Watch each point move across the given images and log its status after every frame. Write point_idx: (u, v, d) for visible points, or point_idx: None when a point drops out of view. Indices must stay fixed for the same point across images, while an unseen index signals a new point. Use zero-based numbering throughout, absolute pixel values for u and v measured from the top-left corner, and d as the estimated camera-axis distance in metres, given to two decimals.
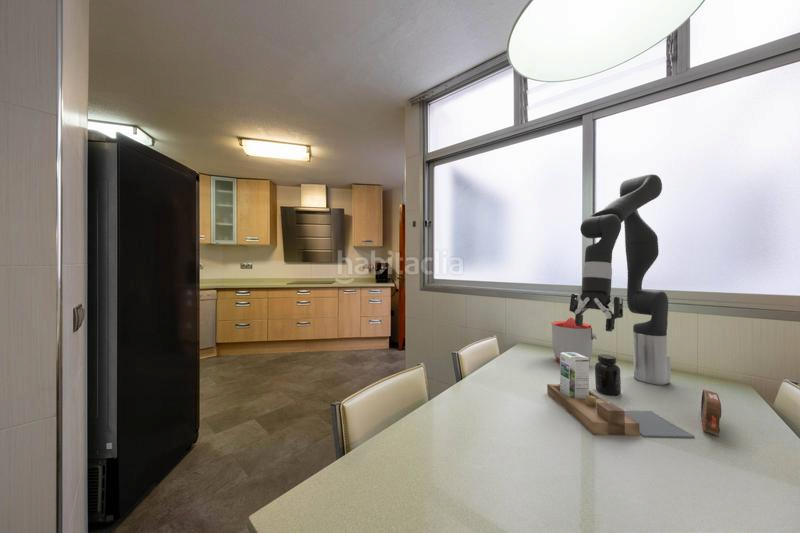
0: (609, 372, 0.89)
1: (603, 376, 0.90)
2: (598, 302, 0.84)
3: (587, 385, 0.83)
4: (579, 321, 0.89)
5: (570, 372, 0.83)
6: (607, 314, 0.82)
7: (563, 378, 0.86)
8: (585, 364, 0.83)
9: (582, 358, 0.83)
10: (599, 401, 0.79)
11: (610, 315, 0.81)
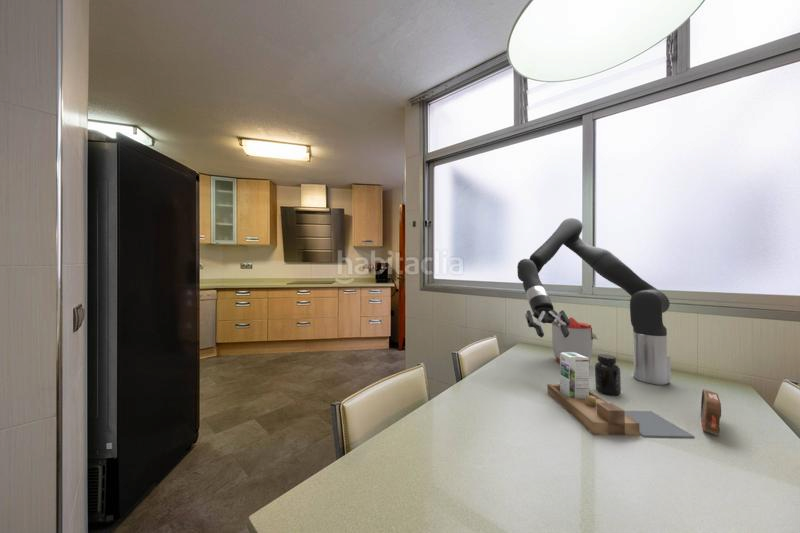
0: (609, 372, 0.89)
1: (603, 376, 0.90)
2: (553, 313, 1.01)
3: (587, 385, 0.83)
4: None
5: (570, 372, 0.83)
6: (562, 322, 0.99)
7: (563, 378, 0.86)
8: (585, 364, 0.83)
9: (582, 358, 0.83)
10: (599, 401, 0.79)
11: (564, 323, 0.99)
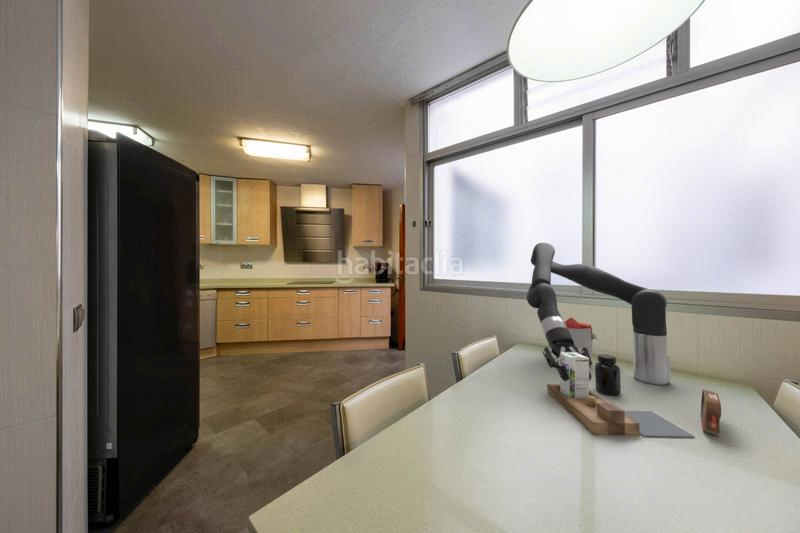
0: (609, 372, 0.89)
1: (603, 376, 0.90)
2: (573, 350, 0.89)
3: (587, 385, 0.83)
4: None
5: (570, 372, 0.83)
6: None
7: None
8: (585, 364, 0.83)
9: (582, 358, 0.83)
10: (599, 401, 0.79)
11: None
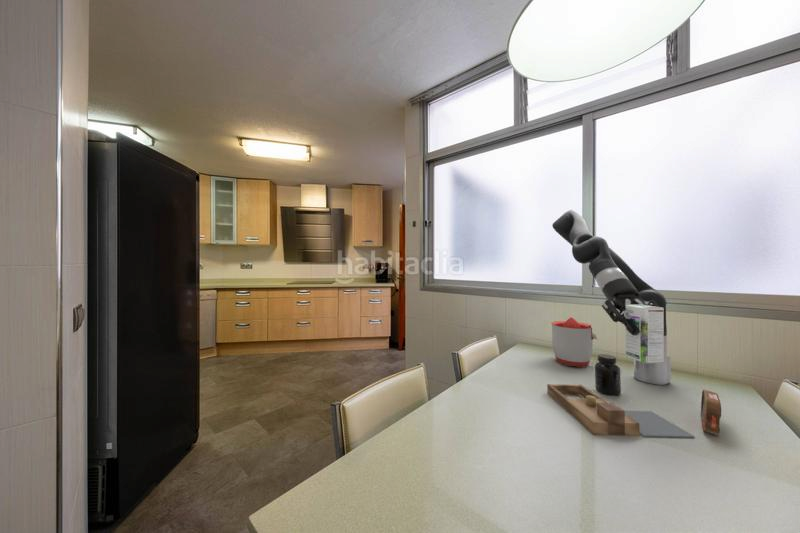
0: (609, 372, 0.89)
1: (603, 376, 0.90)
2: (640, 303, 0.77)
3: (662, 339, 0.71)
4: None
5: (641, 325, 0.71)
6: None
7: (631, 334, 0.74)
8: (659, 315, 0.71)
9: (656, 308, 0.71)
10: (599, 401, 0.79)
11: None
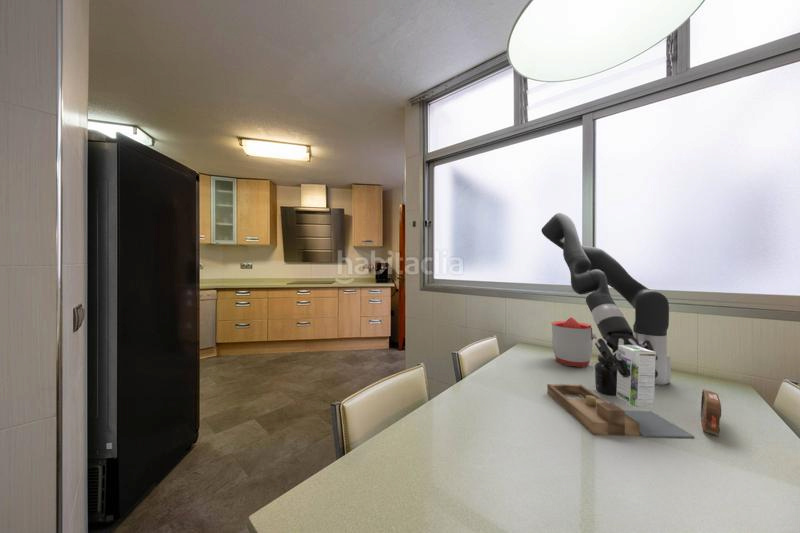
0: (609, 372, 0.89)
1: (603, 376, 0.90)
2: (634, 343, 0.77)
3: (652, 383, 0.71)
4: None
5: (632, 368, 0.72)
6: None
7: None
8: (651, 359, 0.71)
9: (648, 352, 0.71)
10: (599, 401, 0.79)
11: None
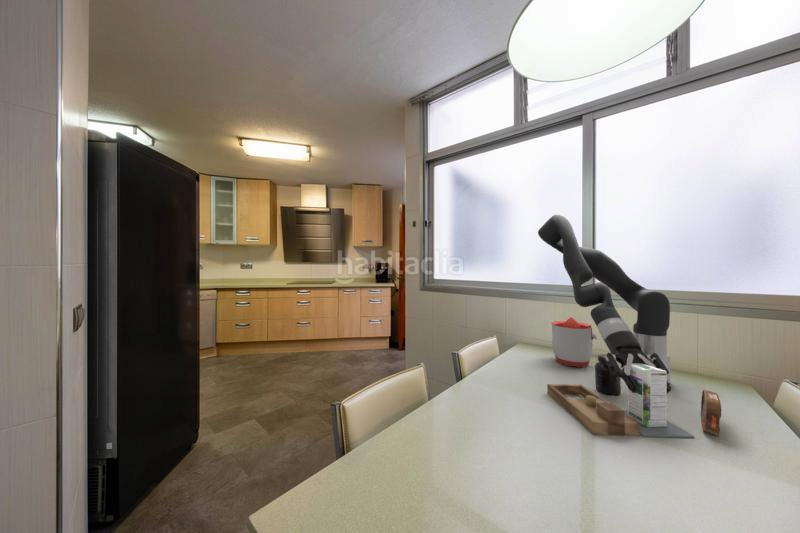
0: (609, 372, 0.89)
1: (603, 376, 0.90)
2: (643, 358, 0.76)
3: (665, 403, 0.71)
4: None
5: (644, 388, 0.71)
6: None
7: (633, 394, 0.74)
8: (662, 378, 0.71)
9: (659, 371, 0.71)
10: (599, 401, 0.79)
11: None
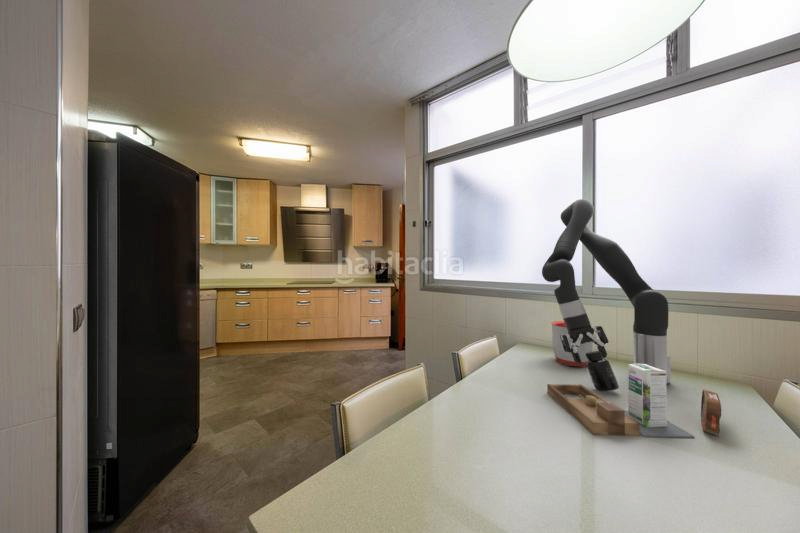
0: (599, 366, 0.91)
1: (595, 372, 0.92)
2: (590, 335, 0.95)
3: (664, 403, 0.70)
4: None
5: (644, 388, 0.71)
6: (600, 343, 0.95)
7: (633, 395, 0.74)
8: (662, 378, 0.71)
9: (658, 371, 0.71)
10: (599, 401, 0.79)
11: (602, 343, 0.95)
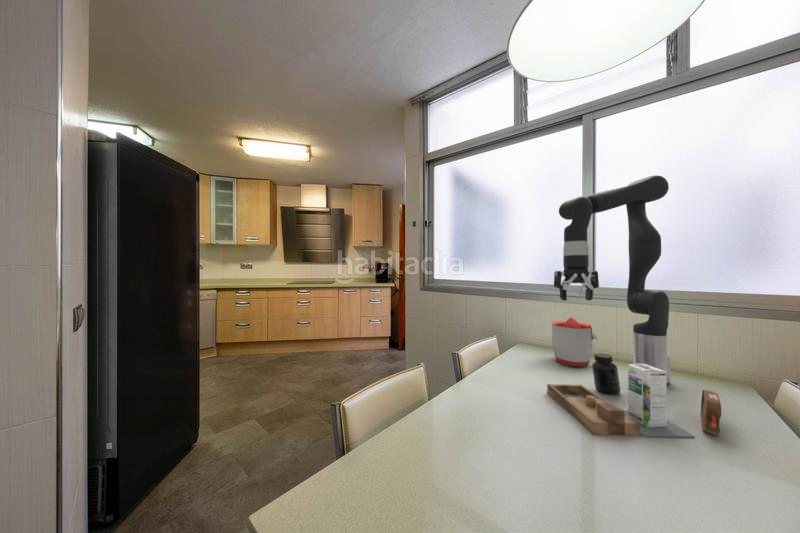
0: (603, 370, 0.89)
1: (598, 375, 0.91)
2: (584, 277, 0.96)
3: (664, 403, 0.70)
4: None
5: (644, 388, 0.71)
6: (590, 286, 0.96)
7: (633, 395, 0.74)
8: (662, 378, 0.71)
9: (658, 371, 0.71)
10: (599, 401, 0.79)
11: (592, 286, 0.96)
